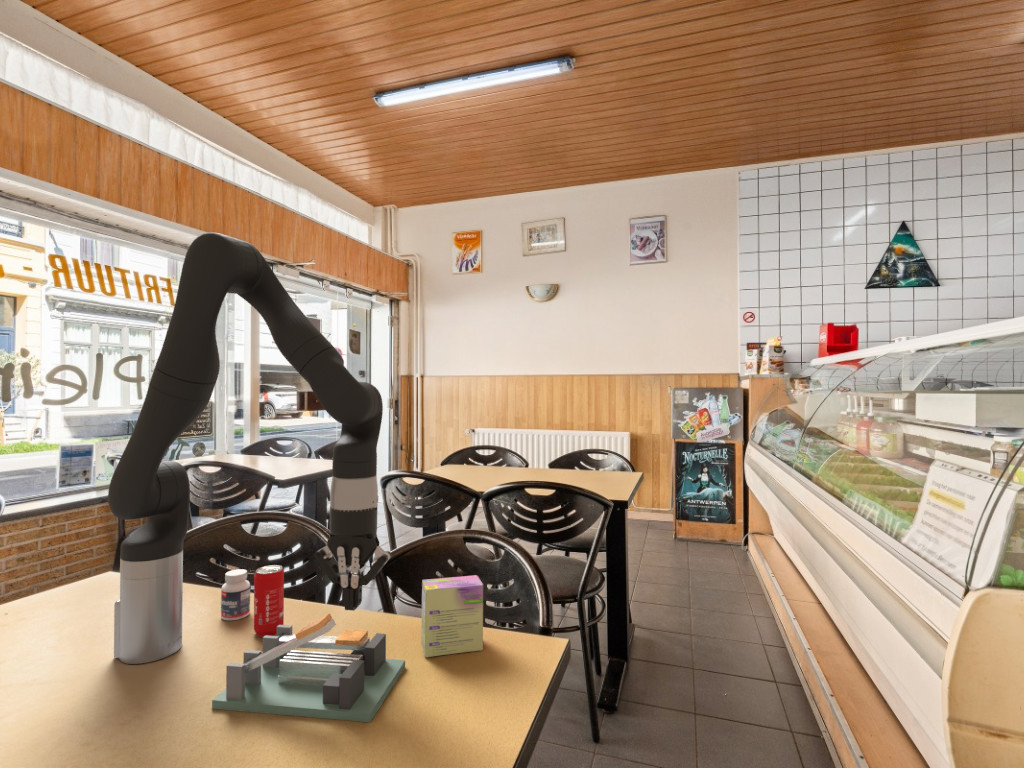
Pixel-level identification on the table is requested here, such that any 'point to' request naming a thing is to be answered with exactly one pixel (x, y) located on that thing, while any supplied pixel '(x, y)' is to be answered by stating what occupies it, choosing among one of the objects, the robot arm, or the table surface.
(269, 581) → the beverage can
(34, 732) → the table surface
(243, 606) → the pill bottle
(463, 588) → the box
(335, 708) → the socket board
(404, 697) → the table surface
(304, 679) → the heatsink block
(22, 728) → the table surface
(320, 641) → the lever far
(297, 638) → the lever near
